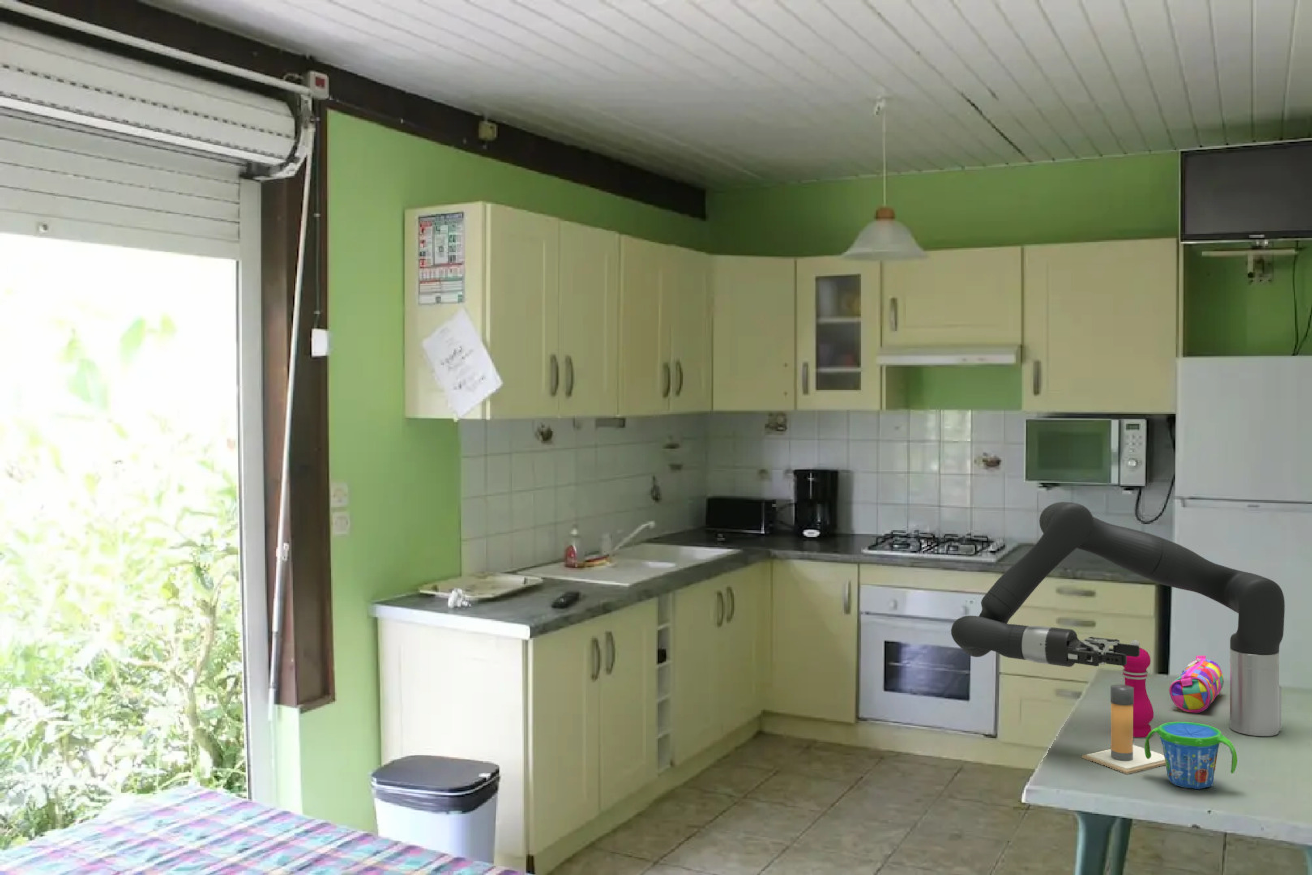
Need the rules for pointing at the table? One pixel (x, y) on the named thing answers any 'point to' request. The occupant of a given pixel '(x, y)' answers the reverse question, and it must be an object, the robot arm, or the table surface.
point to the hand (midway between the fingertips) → (1132, 655)
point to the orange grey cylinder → (1122, 722)
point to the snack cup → (1190, 752)
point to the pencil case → (1197, 685)
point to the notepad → (1128, 766)
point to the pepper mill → (1139, 691)
